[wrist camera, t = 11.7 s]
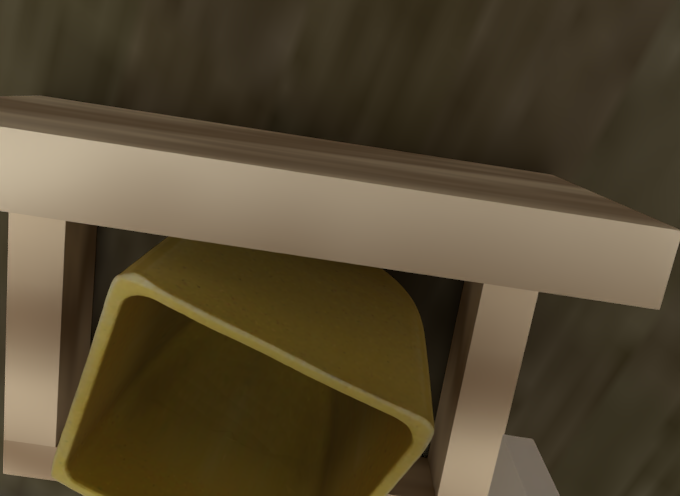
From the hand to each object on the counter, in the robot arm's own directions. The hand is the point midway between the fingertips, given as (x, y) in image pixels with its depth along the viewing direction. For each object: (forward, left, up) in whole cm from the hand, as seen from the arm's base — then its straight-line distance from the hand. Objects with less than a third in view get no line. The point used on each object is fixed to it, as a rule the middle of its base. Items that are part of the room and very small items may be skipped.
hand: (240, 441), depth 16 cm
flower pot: (-1, 0, -10) cm, 10 cm away
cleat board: (0, 0, -11) cm, 11 cm away
